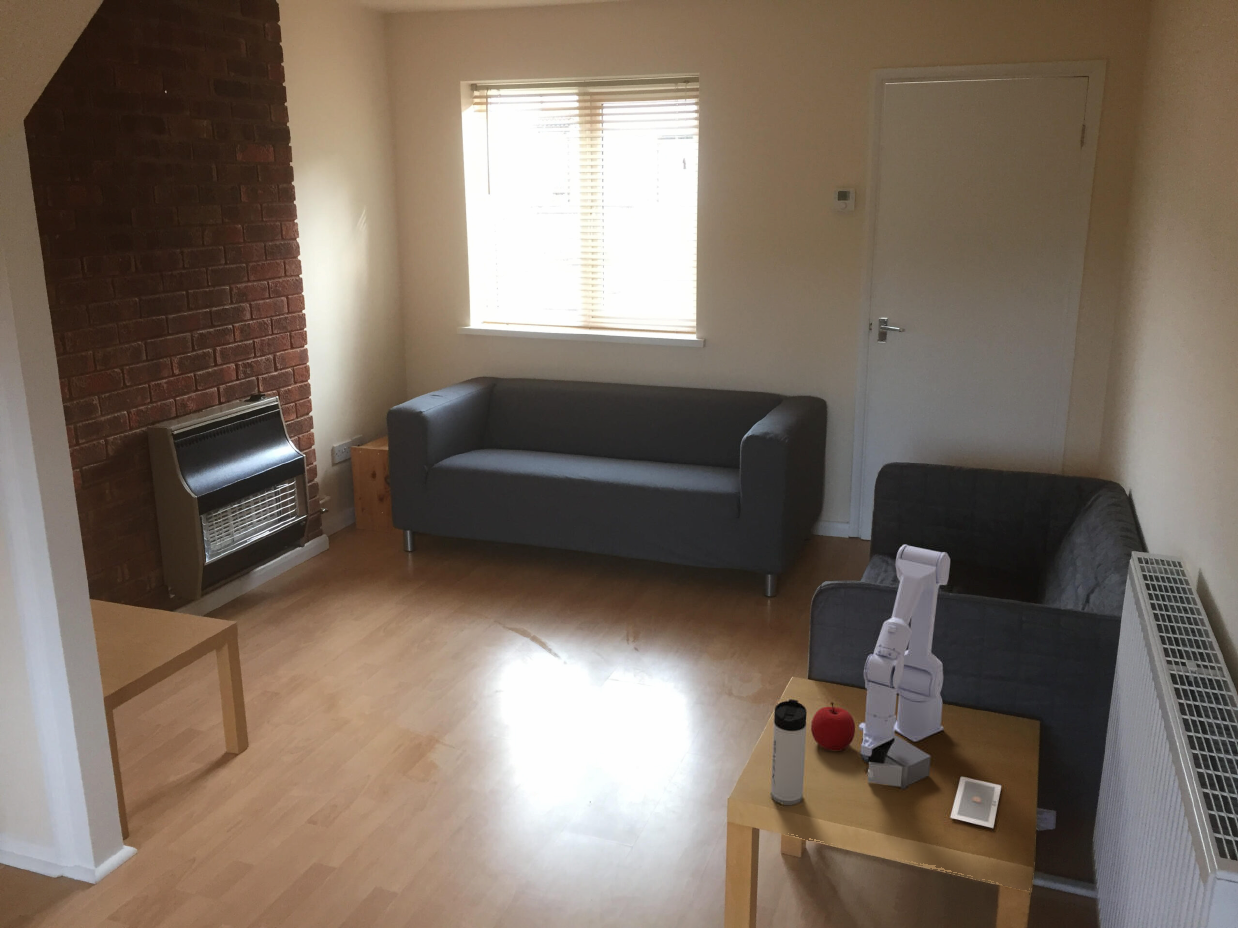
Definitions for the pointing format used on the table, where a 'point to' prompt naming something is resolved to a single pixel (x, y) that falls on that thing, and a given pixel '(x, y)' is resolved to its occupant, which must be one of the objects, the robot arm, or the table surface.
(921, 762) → the camera body
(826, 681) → the table surface
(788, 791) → the travel mug
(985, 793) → the touchpad
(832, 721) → the apple
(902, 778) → the door
